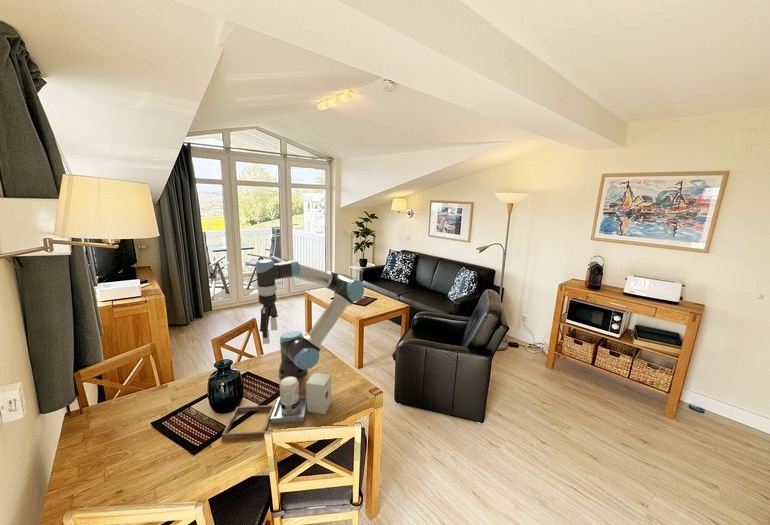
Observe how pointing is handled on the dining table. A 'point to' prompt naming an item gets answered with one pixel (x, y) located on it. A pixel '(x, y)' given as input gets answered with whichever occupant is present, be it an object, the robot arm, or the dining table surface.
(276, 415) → the tray
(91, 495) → the dining table surface
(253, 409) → the wooden frame
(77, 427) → the dining table surface
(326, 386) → the supplement box
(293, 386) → the supplement can
